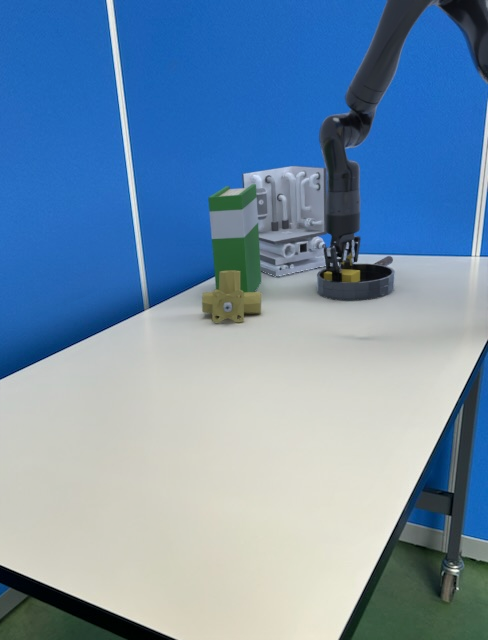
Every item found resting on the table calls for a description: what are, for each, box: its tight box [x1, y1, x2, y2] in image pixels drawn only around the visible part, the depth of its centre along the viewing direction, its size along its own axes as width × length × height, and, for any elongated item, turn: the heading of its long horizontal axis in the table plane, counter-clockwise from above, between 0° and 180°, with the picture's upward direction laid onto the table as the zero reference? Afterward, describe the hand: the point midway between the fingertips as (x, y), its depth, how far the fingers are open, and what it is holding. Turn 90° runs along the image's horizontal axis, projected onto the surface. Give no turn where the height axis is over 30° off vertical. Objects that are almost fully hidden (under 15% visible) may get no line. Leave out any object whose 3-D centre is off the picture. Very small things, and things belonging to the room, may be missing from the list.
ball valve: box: [201, 270, 262, 324], centre depth 134 cm, size 13×10×10 cm
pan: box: [316, 263, 396, 302], centre depth 144 cm, size 17×17×4 cm
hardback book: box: [207, 184, 262, 293], centre depth 148 cm, size 18×7×24 cm, turn 164°
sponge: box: [324, 269, 360, 282], centre depth 146 cm, size 7×4×4 cm, turn 50°
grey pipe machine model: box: [241, 165, 328, 278], centre depth 164 cm, size 16×19×25 cm
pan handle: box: [373, 255, 394, 267], centre depth 153 cm, size 2×11×2 cm, turn 140°
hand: (342, 284), depth 147 cm, fingers closed on sponge, 4 cm apart
